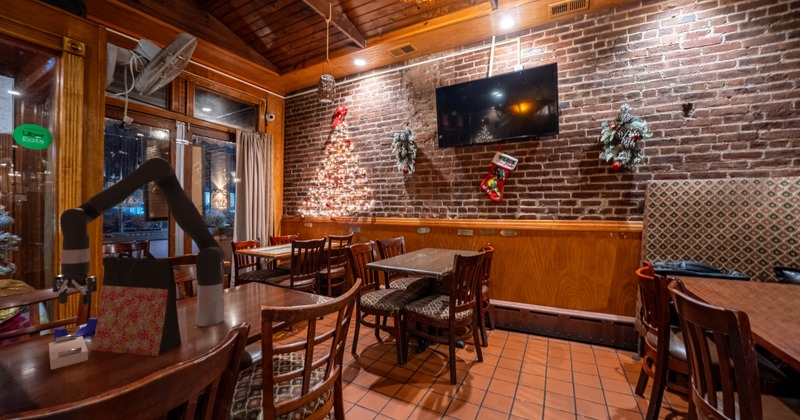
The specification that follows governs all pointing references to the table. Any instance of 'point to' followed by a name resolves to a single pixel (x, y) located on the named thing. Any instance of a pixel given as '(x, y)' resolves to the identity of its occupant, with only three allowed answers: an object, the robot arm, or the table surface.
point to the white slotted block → (67, 351)
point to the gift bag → (137, 306)
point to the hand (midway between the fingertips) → (74, 303)
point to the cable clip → (83, 331)
